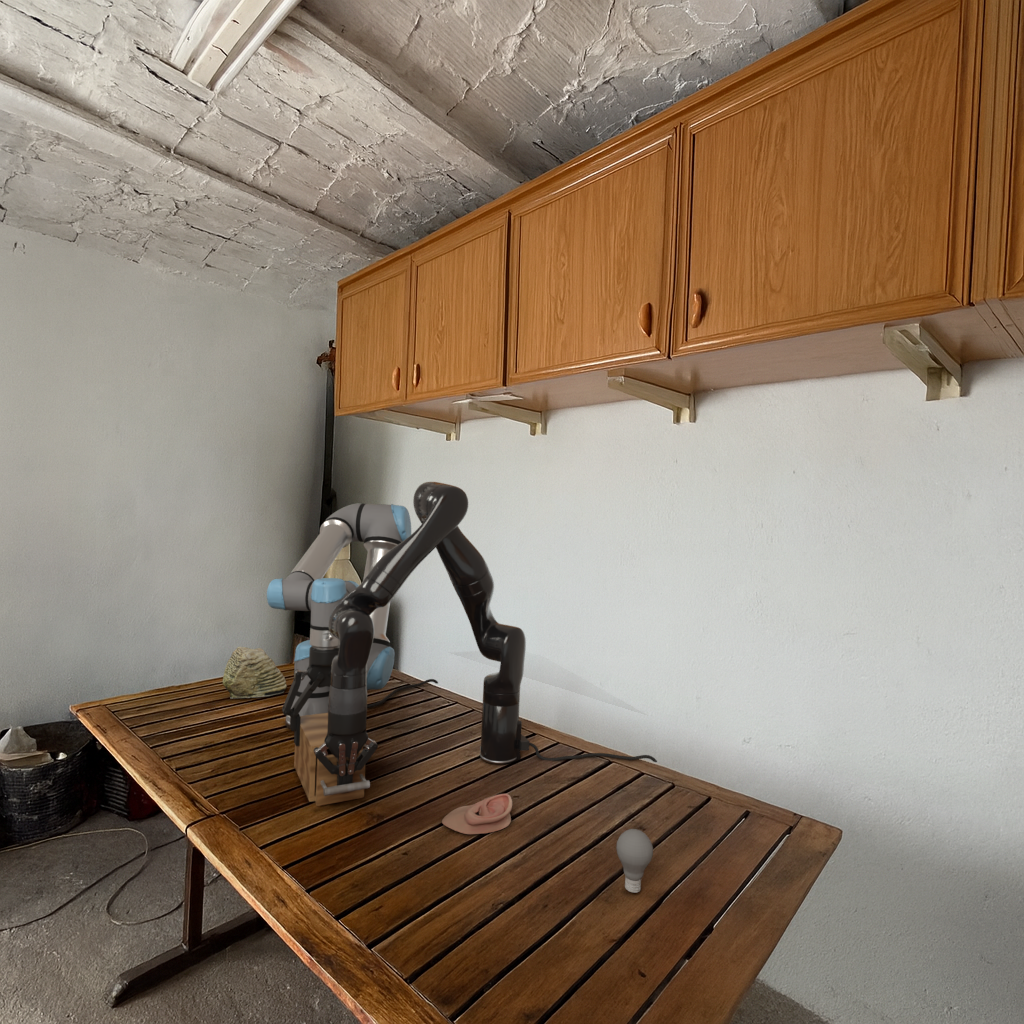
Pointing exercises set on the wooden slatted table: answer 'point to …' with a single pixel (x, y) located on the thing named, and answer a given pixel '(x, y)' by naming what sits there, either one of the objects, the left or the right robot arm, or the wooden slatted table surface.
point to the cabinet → (310, 750)
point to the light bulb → (634, 857)
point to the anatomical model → (481, 816)
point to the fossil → (252, 674)
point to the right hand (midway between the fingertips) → (344, 791)
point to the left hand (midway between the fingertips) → (322, 740)
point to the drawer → (329, 789)
